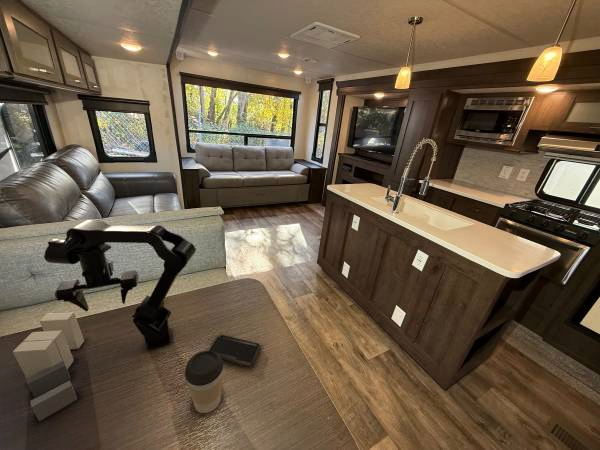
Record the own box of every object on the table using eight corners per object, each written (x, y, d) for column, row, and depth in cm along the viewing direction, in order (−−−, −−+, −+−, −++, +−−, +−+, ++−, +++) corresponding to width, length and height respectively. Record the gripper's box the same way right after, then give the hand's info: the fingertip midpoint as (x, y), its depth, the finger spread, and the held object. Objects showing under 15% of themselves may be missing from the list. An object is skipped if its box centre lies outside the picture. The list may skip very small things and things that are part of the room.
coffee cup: (204, 426, 61) (200, 386, 55) (181, 403, 65) (175, 364, 59) (232, 395, 68) (230, 357, 62) (209, 376, 72) (206, 339, 66)
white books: (74, 360, 73) (62, 330, 68) (59, 380, 68) (45, 349, 63) (46, 362, 72) (32, 332, 67) (28, 383, 66) (12, 351, 61)
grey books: (69, 374, 69) (63, 360, 67) (77, 399, 64) (71, 385, 62) (33, 392, 64) (26, 378, 62) (39, 421, 59) (31, 407, 57)
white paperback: (84, 340, 79) (74, 312, 75) (78, 348, 77) (67, 319, 72) (59, 342, 78) (47, 313, 73) (52, 350, 75) (39, 321, 70)
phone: (219, 334, 85) (260, 344, 83) (219, 336, 85) (260, 346, 83) (207, 353, 78) (252, 365, 75) (207, 356, 78) (252, 367, 76)
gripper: (135, 246, 81) (143, 285, 87) (61, 254, 73) (75, 297, 79) (132, 263, 72) (140, 305, 78) (46, 276, 64) (63, 321, 70)
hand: (106, 306), depth 76 cm, fingers open, 9 cm apart
